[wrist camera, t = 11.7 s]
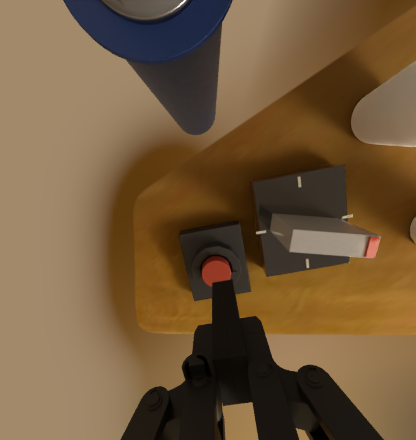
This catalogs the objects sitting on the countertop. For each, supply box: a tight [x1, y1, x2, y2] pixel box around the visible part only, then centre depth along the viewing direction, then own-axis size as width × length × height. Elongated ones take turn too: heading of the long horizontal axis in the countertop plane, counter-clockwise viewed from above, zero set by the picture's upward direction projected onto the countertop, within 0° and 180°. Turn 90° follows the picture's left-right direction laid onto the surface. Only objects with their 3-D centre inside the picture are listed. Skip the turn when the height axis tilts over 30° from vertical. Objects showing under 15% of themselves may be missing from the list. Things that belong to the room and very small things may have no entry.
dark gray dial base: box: [249, 165, 353, 277], centre depth 32 cm, size 14×13×3 cm
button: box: [202, 256, 231, 287], centre depth 31 cm, size 4×4×2 cm
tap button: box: [179, 220, 251, 301], centre depth 33 cm, size 11×9×4 cm
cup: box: [351, 61, 416, 147], centre depth 24 cm, size 9×9×12 cm
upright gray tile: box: [270, 213, 381, 258], centre depth 27 cm, size 9×2×8 cm, turn 86°
